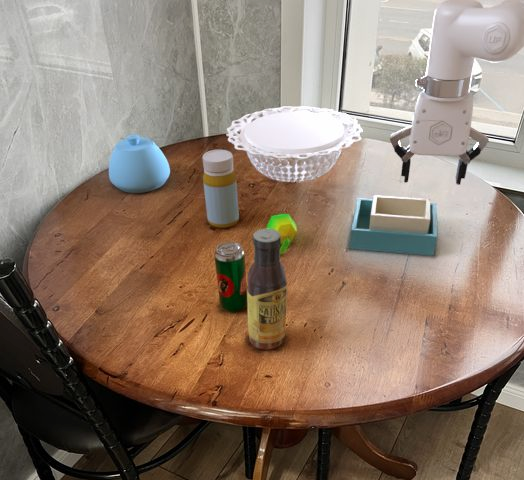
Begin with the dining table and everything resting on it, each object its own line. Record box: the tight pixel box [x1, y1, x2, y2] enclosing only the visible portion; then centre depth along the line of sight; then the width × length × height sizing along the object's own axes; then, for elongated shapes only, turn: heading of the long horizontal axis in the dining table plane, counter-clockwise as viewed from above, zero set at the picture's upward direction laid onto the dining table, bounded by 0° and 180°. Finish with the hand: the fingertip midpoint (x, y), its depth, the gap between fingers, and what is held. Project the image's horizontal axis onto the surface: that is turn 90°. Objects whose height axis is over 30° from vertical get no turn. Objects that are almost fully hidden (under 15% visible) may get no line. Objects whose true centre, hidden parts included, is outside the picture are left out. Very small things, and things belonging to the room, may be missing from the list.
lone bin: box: [369, 194, 431, 234], centre depth 111 cm, size 12×8×6 cm
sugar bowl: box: [108, 133, 171, 194], centre depth 133 cm, size 15×15×12 cm
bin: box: [349, 197, 438, 257], centre depth 112 cm, size 17×14×4 cm
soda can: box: [213, 241, 248, 313], centre depth 94 cm, size 5×5×12 cm
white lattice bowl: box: [225, 105, 364, 183], centre depth 130 cm, size 32×32×13 cm
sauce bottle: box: [246, 228, 288, 351], centre depth 84 cm, size 7×6×20 cm
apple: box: [266, 213, 298, 256], centre depth 111 cm, size 7×6×9 cm
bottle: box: [202, 149, 240, 229], centre depth 115 cm, size 7×7×15 cm
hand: (431, 180), depth 104 cm, fingers open, 9 cm apart
